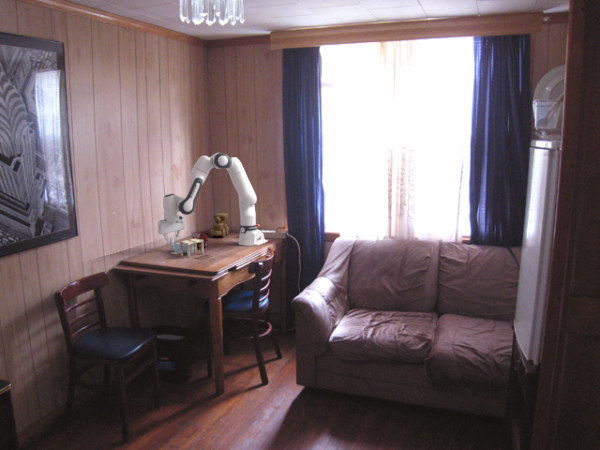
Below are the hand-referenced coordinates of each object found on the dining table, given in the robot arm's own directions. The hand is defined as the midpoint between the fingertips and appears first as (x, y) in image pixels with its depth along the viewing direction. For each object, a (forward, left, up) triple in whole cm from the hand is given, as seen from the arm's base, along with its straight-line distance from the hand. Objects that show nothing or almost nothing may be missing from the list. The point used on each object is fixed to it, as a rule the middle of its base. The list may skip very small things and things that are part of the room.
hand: (172, 238), depth 339 cm
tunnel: (0, +20, -9) cm, 22 cm away
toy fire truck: (-19, +7, -9) cm, 22 cm away
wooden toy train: (-56, -11, -9) cm, 58 cm away
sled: (0, +10, -9) cm, 13 cm away
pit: (0, +30, -9) cm, 32 cm away
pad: (0, +7, -9) cm, 11 cm away
